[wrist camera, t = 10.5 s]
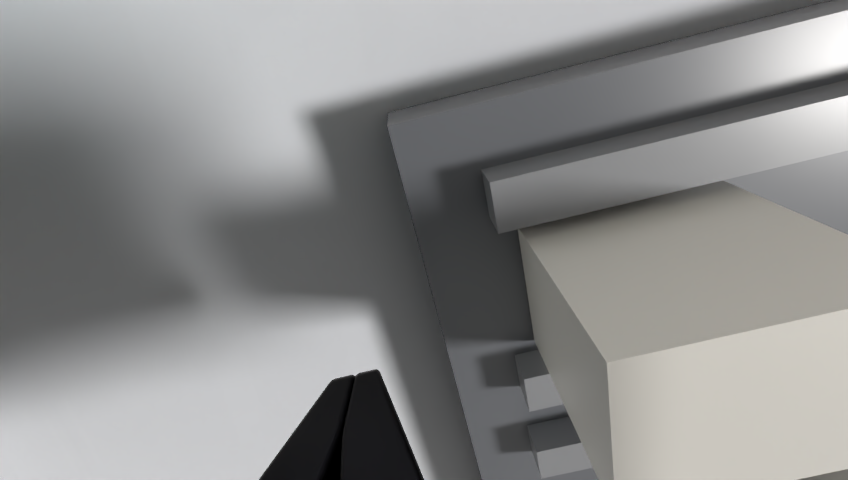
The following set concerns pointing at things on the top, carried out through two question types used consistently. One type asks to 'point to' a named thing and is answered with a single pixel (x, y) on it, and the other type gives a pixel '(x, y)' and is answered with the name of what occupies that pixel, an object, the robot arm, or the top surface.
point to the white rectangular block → (696, 335)
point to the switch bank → (605, 189)
